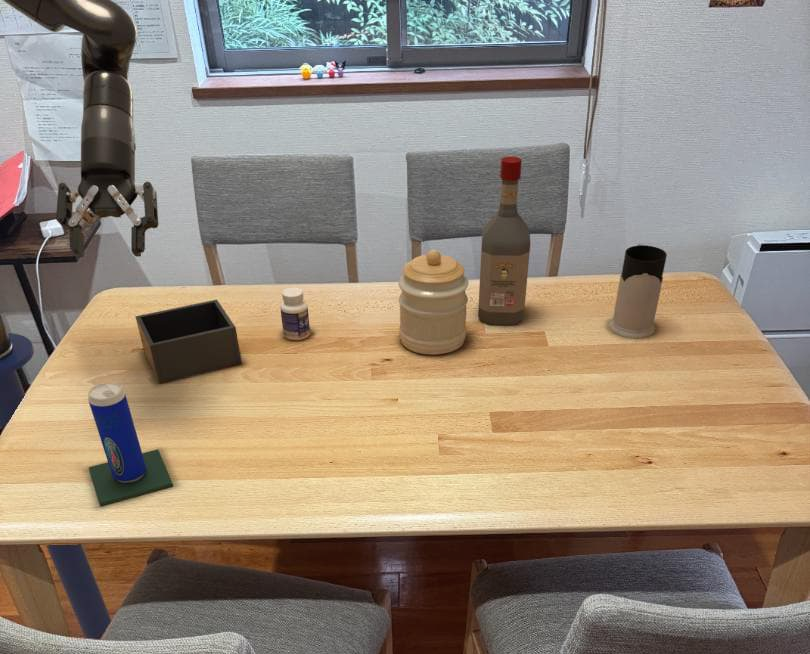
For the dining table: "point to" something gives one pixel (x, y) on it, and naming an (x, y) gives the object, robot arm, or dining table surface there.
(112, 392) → the beverage can
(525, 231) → the liquor
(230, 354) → the dark grey open box
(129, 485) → the mat
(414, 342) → the jar
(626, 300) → the glass holder
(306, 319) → the pill bottle
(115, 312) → the dining table surface
